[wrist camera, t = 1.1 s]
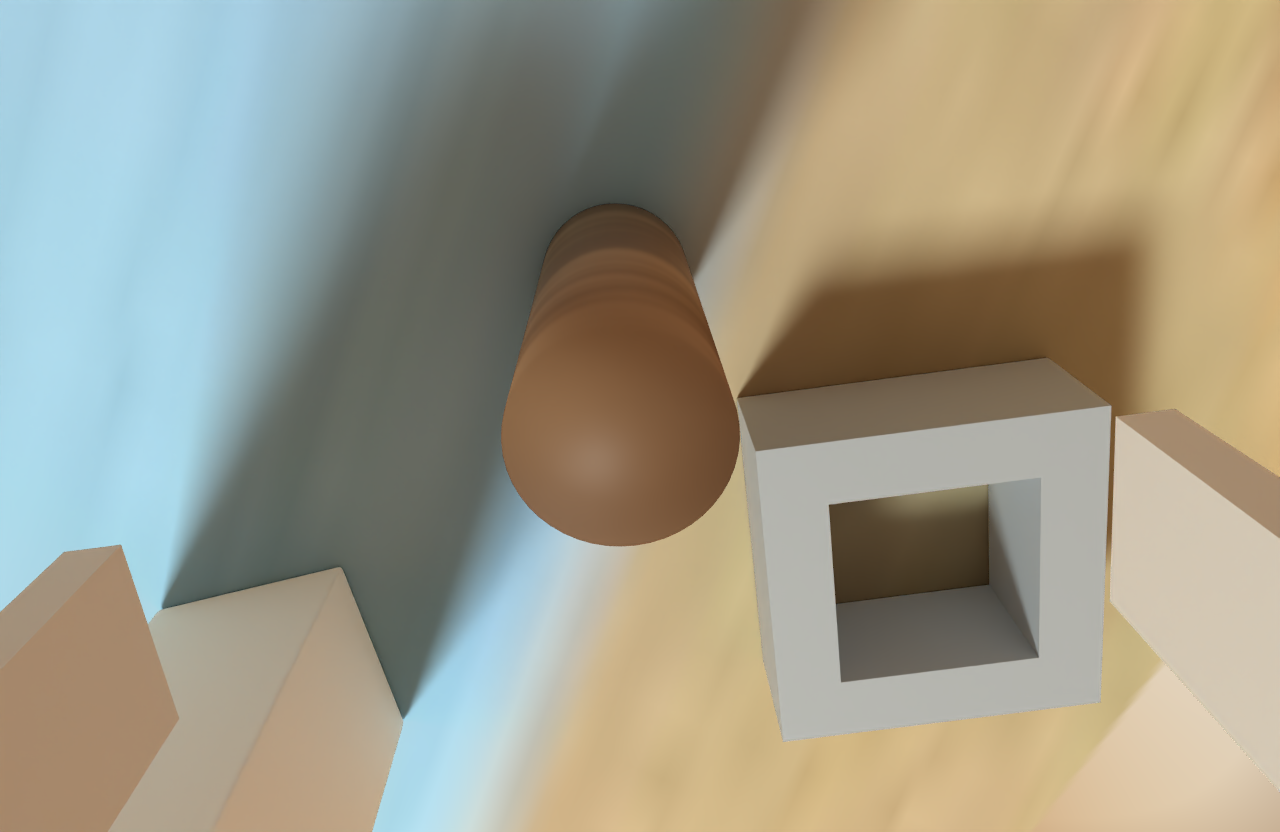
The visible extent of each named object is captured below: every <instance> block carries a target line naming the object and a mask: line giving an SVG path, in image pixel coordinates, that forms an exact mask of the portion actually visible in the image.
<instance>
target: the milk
mask: <svg viewBox="0 0 1280 832" xmlns="http://www.w3.org/2000/svg"><path fill="white" fill-rule="evenodd" d="M148 627H149V630H150V633H151V636H152V639H153V642H154V645H155V648H156V651H157V654H158V657H159V660H160V663H161V666H162V669H163V671H164V674H165V677H166V680H167V683H168V686H169V689H170V692H171V695H172V698H173V701H174V704H175V707H176V710H177V713H178V716H179V720H178V721H177V723H176V725H175V726H174V728H173V729H172V731H171V732H170V734H169V736H168V737H167V739H166V740H165V742H164V744H163V745H162V747H161V748H160V750H159V751H158V753H157V755H156V756H155V758H154V759H153V761H152V763H151V764H150V766H149V767H148V769H147V771H146V772H145V774H144V775H143V777H142V778H141V780H140V782H139V783H138V785H137V786H136V788H135V790H134V791H133V793H132V794H131V796H130V797H129V799H128V801H127V802H126V804H125V805H124V807H123V809H122V810H121V812H120V813H119V815H118V816H117V818H116V820H115V821H114V823H113V824H112V826H111V828H110V829H109V831H108V832H372V830H373V826H374V823H375V819H376V816H377V813H378V809H379V806H380V802H381V799H382V795H383V792H384V788H385V785H386V782H387V778H388V775H389V771H390V768H391V764H392V761H393V757H394V754H395V750H396V747H397V744H398V740H399V737H400V733H401V730H402V726H403V719H402V716H401V714H400V711H399V709H398V706H397V704H396V701H395V699H394V696H393V694H392V691H391V689H390V686H389V684H388V681H387V679H386V676H385V674H384V672H383V669H382V667H381V664H380V662H379V659H378V657H377V654H376V652H375V649H374V647H373V644H372V642H371V639H370V637H369V634H368V632H367V629H366V627H365V624H364V622H363V619H362V617H361V614H360V612H359V609H358V607H357V604H356V602H355V599H354V597H353V594H352V592H351V589H350V587H349V584H348V582H347V579H346V577H345V574H344V572H343V570H342V568H340V567H337V568H333V569H328V570H324V571H320V572H316V573H312V574H308V575H303V576H299V577H295V578H291V579H287V580H283V581H278V582H274V583H270V584H266V585H262V586H258V587H253V588H249V589H245V590H241V591H237V592H232V593H228V594H224V595H220V596H216V597H212V598H207V599H203V600H199V601H195V602H191V603H187V604H182V605H178V606H174V607H170V608H166V609H162V610H160V611H158V612H157V613H156V615H155V616H154V617H153V618H152V620H151V621H150V622H149V624H148Z"/></svg>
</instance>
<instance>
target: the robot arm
mask: <svg viewBox="0 0 1280 832" xmlns="http://www.w3.org/2000/svg"><path fill="white" fill-rule="evenodd" d="M1110 602H1111V603H1112V604H1113V605H1114V607H1115V608H1116V609H1117V610H1118V611H1119V612H1120V613H1121V614H1122V616H1123V617H1124V618H1125V619H1126V620H1127V621H1128V622H1129V623H1130V625H1131V626H1132V627H1133V628H1134V629H1135V630H1136V631H1137V632H1138V634H1139V635H1140V636H1141V637H1142V638H1143V639H1144V640H1145V641H1146V643H1147V644H1148V645H1149V646H1150V647H1151V648H1152V649H1153V650H1154V652H1155V653H1156V654H1157V655H1158V656H1159V657H1160V658H1161V659H1162V661H1163V662H1164V663H1165V664H1166V665H1167V666H1168V667H1169V668H1170V669H1171V671H1172V672H1173V673H1174V674H1175V675H1176V676H1177V677H1178V678H1179V680H1180V681H1181V682H1182V683H1183V684H1184V685H1185V686H1186V688H1187V689H1188V690H1189V691H1190V692H1191V693H1192V694H1193V695H1194V697H1195V698H1196V699H1197V700H1198V701H1199V702H1200V703H1201V704H1202V705H1203V707H1204V708H1205V709H1206V710H1207V711H1208V712H1209V713H1210V715H1211V716H1212V717H1213V718H1214V719H1215V720H1216V721H1217V722H1218V723H1219V725H1220V726H1221V727H1222V728H1223V729H1224V730H1225V731H1226V732H1227V734H1228V735H1229V736H1230V737H1231V738H1232V739H1233V740H1234V741H1235V743H1237V745H1238V746H1239V747H1240V748H1241V749H1242V750H1243V752H1244V753H1245V754H1246V755H1247V756H1248V757H1249V758H1250V759H1251V761H1252V762H1253V763H1254V764H1255V765H1256V766H1257V767H1258V768H1259V770H1260V771H1261V772H1262V773H1263V774H1264V775H1265V776H1266V777H1267V779H1268V780H1269V781H1270V782H1271V783H1272V784H1273V785H1274V786H1275V788H1276V789H1277V790H1278V791H1279V792H1280V477H1278V476H1277V475H1275V474H1274V473H1272V472H1271V471H1269V470H1267V469H1266V468H1264V467H1263V466H1261V465H1260V464H1258V463H1257V462H1255V461H1254V460H1252V459H1251V458H1249V457H1248V456H1246V455H1245V454H1243V453H1242V452H1240V451H1238V450H1237V449H1235V448H1234V447H1232V446H1231V445H1229V444H1228V443H1226V442H1225V441H1223V440H1222V439H1220V438H1219V437H1217V436H1216V435H1214V434H1213V433H1211V432H1209V431H1208V430H1206V429H1205V428H1203V427H1202V426H1200V425H1199V424H1197V423H1196V422H1194V421H1193V420H1191V419H1190V418H1188V417H1187V416H1185V415H1183V414H1182V413H1180V412H1179V411H1177V410H1176V409H1170V410H1162V411H1155V412H1147V413H1139V414H1131V415H1124V416H1116V427H1115V458H1114V489H1113V519H1112V550H1111V581H1110ZM178 720H179V716H178V713H177V710H176V707H175V704H174V701H173V698H172V695H171V692H170V689H169V686H168V683H167V680H166V677H165V674H164V671H163V669H162V666H161V663H160V660H159V657H158V654H157V651H156V648H155V645H154V642H153V639H152V636H151V633H150V630H149V627H148V624H147V621H146V618H145V615H144V612H143V609H142V606H141V603H140V600H139V597H138V594H137V591H136V588H135V585H134V582H133V579H132V576H131V573H130V570H129V567H128V564H127V561H126V558H125V555H124V552H123V549H122V546H121V545H115V546H107V547H100V548H92V549H84V550H76V551H69V552H64V553H62V554H61V555H60V556H59V557H58V558H57V559H56V560H55V561H54V562H53V563H52V564H51V565H50V566H49V567H48V568H47V569H46V570H44V571H43V572H42V573H41V574H40V575H39V576H38V577H37V578H36V579H35V580H34V581H33V582H32V583H31V584H30V585H29V586H27V587H26V588H25V589H24V590H23V591H22V592H21V593H20V594H19V595H18V596H17V597H16V598H15V599H14V600H13V601H12V602H11V603H9V604H8V605H7V606H6V607H5V608H4V609H3V610H2V611H1V612H0V832H108V831H109V829H110V828H111V826H112V824H113V823H114V821H115V820H116V818H117V816H118V815H119V813H120V812H121V810H122V809H123V807H124V805H125V804H126V802H127V801H128V799H129V797H130V796H131V794H132V793H133V791H134V790H135V788H136V786H137V785H138V783H139V782H140V780H141V778H142V777H143V775H144V774H145V772H146V771H147V769H148V767H149V766H150V764H151V763H152V761H153V759H154V758H155V756H156V755H157V753H158V751H159V750H160V748H161V747H162V745H163V744H164V742H165V740H166V739H167V737H168V736H169V734H170V732H171V731H172V729H173V728H174V726H175V725H176V723H177V721H178Z"/></svg>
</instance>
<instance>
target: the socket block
mask: <svg viewBox="0 0 1280 832" xmlns="http://www.w3.org/2000/svg"><path fill="white" fill-rule="evenodd" d="M737 404H738V414H739V424H740V434H741V444H742V454H743V464H744V474H745V484H746V494H747V503H748V513H749V523H750V533H751V543H752V553H753V563H754V573H755V583H756V593H757V603H758V613H759V623H760V633H761V643H762V653H763V662H764V666H765V670H766V674H767V678H768V682H769V686H770V690H771V694H772V698H773V703H774V707H775V711H776V715H777V719H778V723H779V727H780V731H781V735H782V739H783V742H786V741H794V740H802V739H810V738H818V737H826V736H834V735H842V734H850V733H859V732H867V731H875V730H883V729H891V728H899V727H907V726H915V725H923V724H931V723H939V722H947V721H955V720H963V719H971V718H979V717H987V716H995V715H1003V714H1011V713H1019V712H1027V711H1035V710H1043V709H1051V708H1059V707H1068V706H1076V705H1084V704H1092V703H1100V701H1101V674H1102V646H1103V619H1104V592H1105V565H1106V538H1107V511H1108V484H1109V457H1110V430H1111V405H1110V404H1109V403H1107V402H1106V401H1105V400H1103V399H1102V398H1101V397H1100V396H1098V395H1097V394H1096V393H1094V392H1093V391H1092V390H1090V389H1089V388H1088V387H1086V386H1085V385H1084V384H1082V383H1081V382H1080V381H1078V380H1077V379H1076V378H1074V377H1073V376H1072V375H1070V374H1069V373H1068V372H1067V371H1065V370H1064V369H1063V368H1061V367H1060V366H1059V365H1057V364H1056V363H1055V362H1053V361H1052V360H1051V359H1049V358H1041V359H1033V360H1026V361H1018V362H1010V363H1003V364H995V365H987V366H980V367H972V368H964V369H956V370H949V371H941V372H933V373H926V374H918V375H910V376H903V377H895V378H887V379H880V380H872V381H864V382H857V383H849V384H841V385H833V386H826V387H818V388H810V389H803V390H795V391H787V392H780V393H772V394H764V395H757V396H749V397H741V398H737ZM986 484H988V501H989V585H982V586H974V587H966V588H958V589H951V590H943V591H935V592H927V593H919V594H911V595H903V596H895V597H887V598H879V599H872V600H864V601H856V602H848V603H840V604H836V603H835V588H834V574H833V560H832V545H831V531H830V516H829V505H830V504H838V503H846V502H854V501H862V500H869V499H877V498H885V497H893V496H901V495H908V494H916V493H924V492H932V491H940V490H947V489H955V488H963V487H971V486H979V485H986Z"/></svg>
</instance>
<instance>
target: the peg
mask: <svg viewBox="0 0 1280 832" xmlns="http://www.w3.org/2000/svg"><path fill="white" fill-rule="evenodd" d="M739 442H740V429H739V420H738V414H737V409H736V406H735V403H734V400H733V397H732V394H731V391H730V388H729V385H728V382H727V379H726V376H725V373H724V370H723V367H722V364H721V361H720V358H719V355H718V352H717V349H716V346H715V343H714V340H713V337H712V334H711V331H710V329H709V326H708V323H707V320H706V317H705V314H704V311H703V308H702V305H701V302H700V299H699V296H698V293H697V290H696V287H695V284H694V281H693V278H692V275H691V272H690V269H689V266H688V263H687V260H686V257H685V254H684V251H683V249H682V246H681V244H680V242H679V240H678V239H677V237H676V236H675V234H674V233H673V231H672V230H671V229H670V228H669V227H668V226H667V225H666V224H665V223H664V222H663V221H662V220H661V219H660V218H658V217H657V216H655V215H654V214H652V213H650V212H648V211H646V210H644V209H641V208H639V207H636V206H632V205H627V204H603V205H598V206H594V207H591V208H589V209H586V210H584V211H582V212H580V213H578V214H576V215H575V216H573V217H572V218H571V219H569V220H568V221H567V222H566V223H565V224H564V225H563V226H562V227H561V228H560V229H559V230H558V231H557V233H556V234H555V236H554V237H553V239H552V240H551V242H550V245H549V247H548V249H547V252H546V255H545V258H544V262H543V266H542V269H541V273H540V277H539V281H538V285H537V288H536V292H535V296H534V300H533V304H532V307H531V311H530V315H529V319H528V323H527V326H526V330H525V334H524V338H523V342H522V345H521V349H520V353H519V357H518V361H517V364H516V368H515V372H514V376H513V380H512V383H511V387H510V391H509V395H508V399H507V402H506V406H505V410H504V415H503V421H502V429H501V444H502V452H503V458H504V462H505V465H506V469H507V472H508V474H509V476H510V479H511V481H512V483H513V485H514V487H515V488H516V490H517V492H518V494H519V495H520V497H521V498H522V499H523V500H524V502H525V503H526V504H527V505H528V507H529V508H530V509H531V510H532V511H533V512H534V513H535V514H536V515H537V516H538V517H540V518H541V519H542V520H544V521H545V522H546V523H548V524H549V525H550V526H552V527H554V528H555V529H557V530H559V531H560V532H562V533H564V534H566V535H569V536H571V537H573V538H576V539H579V540H582V541H586V542H589V543H593V544H599V545H605V546H634V545H641V544H646V543H651V542H654V541H658V540H661V539H664V538H667V537H669V536H671V535H673V534H675V533H678V532H680V531H681V530H683V529H685V528H686V527H688V526H690V525H691V524H692V523H694V522H695V521H696V520H698V519H699V518H700V517H701V516H703V515H704V514H705V513H706V512H707V511H708V510H709V509H710V508H711V507H712V506H713V505H714V503H715V502H716V501H717V499H718V498H719V497H720V495H721V494H722V493H723V491H724V489H725V487H726V486H727V484H728V482H729V480H730V478H731V475H732V473H733V470H734V468H735V464H736V460H737V456H738V451H739Z"/></svg>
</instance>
